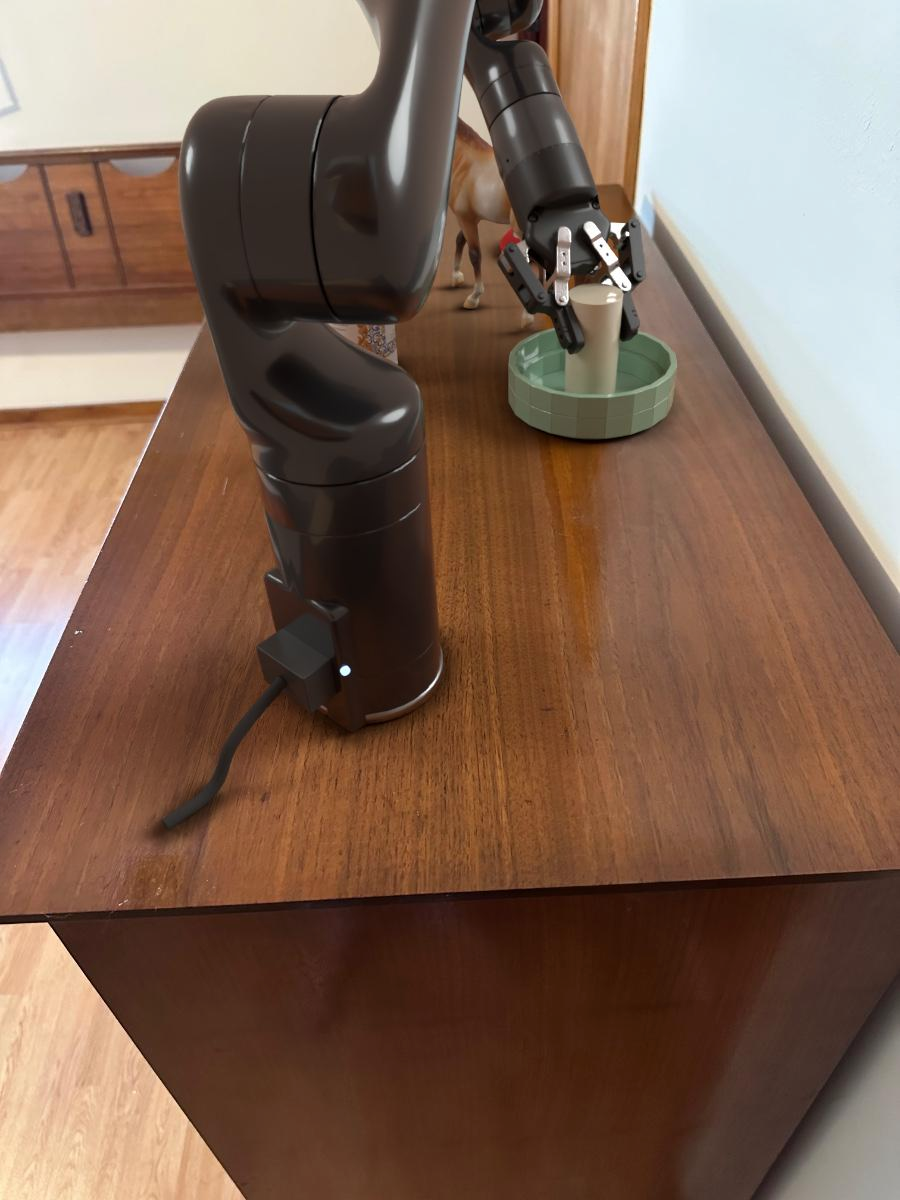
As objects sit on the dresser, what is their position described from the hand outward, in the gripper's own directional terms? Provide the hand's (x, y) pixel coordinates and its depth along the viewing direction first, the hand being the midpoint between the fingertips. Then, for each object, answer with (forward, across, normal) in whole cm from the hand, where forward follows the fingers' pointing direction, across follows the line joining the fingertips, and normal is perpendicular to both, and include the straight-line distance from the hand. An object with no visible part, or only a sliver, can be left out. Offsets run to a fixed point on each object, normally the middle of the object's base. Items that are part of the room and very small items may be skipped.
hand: (604, 343), depth 79 cm
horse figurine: (-11, 0, +21) cm, 24 cm away
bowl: (+3, 0, +6) cm, 7 cm away
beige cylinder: (+3, 0, +6) cm, 6 cm away
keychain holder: (-24, +16, +31) cm, 43 cm away
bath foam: (-8, -17, +18) cm, 26 cm away
